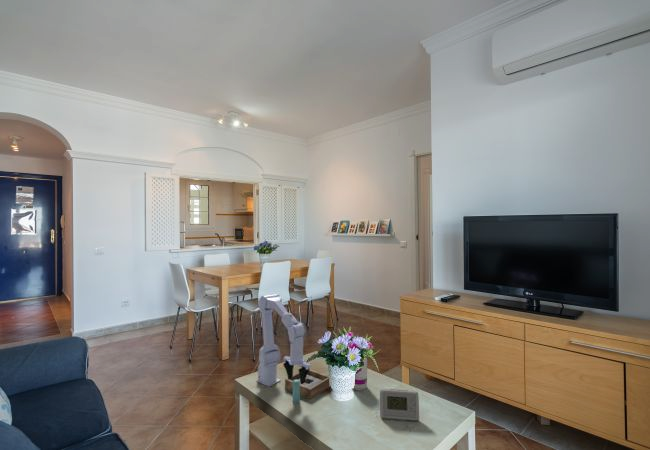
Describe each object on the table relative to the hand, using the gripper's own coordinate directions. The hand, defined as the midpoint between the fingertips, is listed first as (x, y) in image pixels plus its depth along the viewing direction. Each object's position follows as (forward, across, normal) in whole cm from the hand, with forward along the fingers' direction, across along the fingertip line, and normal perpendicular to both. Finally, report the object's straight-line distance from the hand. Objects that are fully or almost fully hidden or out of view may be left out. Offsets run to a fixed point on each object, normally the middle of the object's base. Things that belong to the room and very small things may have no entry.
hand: (296, 380), depth 153 cm
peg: (+9, 0, 0) cm, 9 cm away
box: (+9, -4, +13) cm, 16 cm away
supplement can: (+9, +15, +29) cm, 34 cm away
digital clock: (+10, +42, +18) cm, 47 cm away
